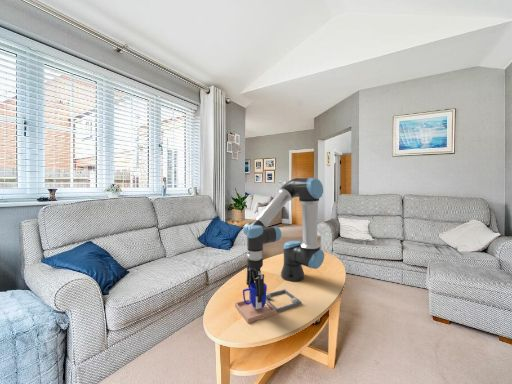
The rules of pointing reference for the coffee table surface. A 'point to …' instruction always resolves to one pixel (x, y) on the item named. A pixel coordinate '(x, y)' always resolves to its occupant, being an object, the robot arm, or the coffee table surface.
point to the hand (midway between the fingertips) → (255, 304)
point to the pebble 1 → (268, 295)
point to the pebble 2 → (294, 300)
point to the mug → (253, 295)
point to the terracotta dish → (254, 311)
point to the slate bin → (286, 305)
